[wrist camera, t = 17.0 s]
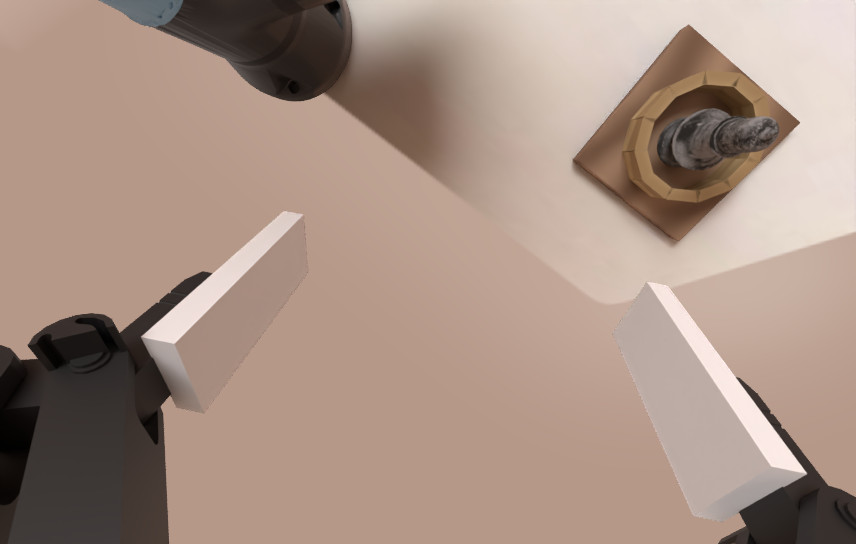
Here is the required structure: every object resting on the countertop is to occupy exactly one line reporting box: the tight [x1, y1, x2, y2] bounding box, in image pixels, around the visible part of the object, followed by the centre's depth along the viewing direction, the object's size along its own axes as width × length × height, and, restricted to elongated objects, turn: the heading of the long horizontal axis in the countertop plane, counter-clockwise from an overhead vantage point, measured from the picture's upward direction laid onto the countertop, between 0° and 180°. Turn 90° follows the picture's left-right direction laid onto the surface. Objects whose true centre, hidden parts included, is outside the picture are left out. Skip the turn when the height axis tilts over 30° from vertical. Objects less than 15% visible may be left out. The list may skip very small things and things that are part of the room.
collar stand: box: [573, 25, 800, 241], centre depth 37 cm, size 16×16×4 cm
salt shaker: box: [657, 108, 779, 171], centre depth 32 cm, size 6×6×12 cm
